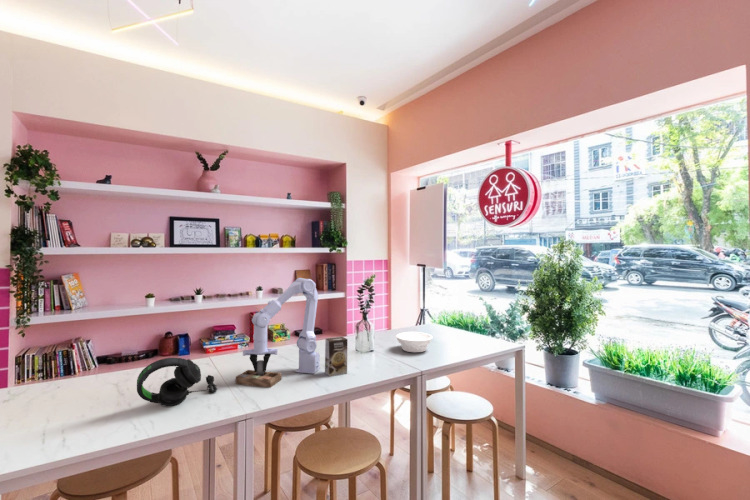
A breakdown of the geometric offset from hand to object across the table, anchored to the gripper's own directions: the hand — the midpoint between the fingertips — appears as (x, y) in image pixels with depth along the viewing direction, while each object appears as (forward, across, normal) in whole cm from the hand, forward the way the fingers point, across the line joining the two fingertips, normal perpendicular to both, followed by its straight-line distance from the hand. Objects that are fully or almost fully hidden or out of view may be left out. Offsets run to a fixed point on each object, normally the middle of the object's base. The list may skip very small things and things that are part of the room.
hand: (260, 371), depth 152 cm
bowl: (+4, -79, -38) cm, 88 cm away
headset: (+4, +26, +17) cm, 32 cm away
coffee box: (+4, -33, -6) cm, 34 cm away
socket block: (+4, 0, +1) cm, 4 cm away
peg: (+2, 0, 0) cm, 2 cm away
